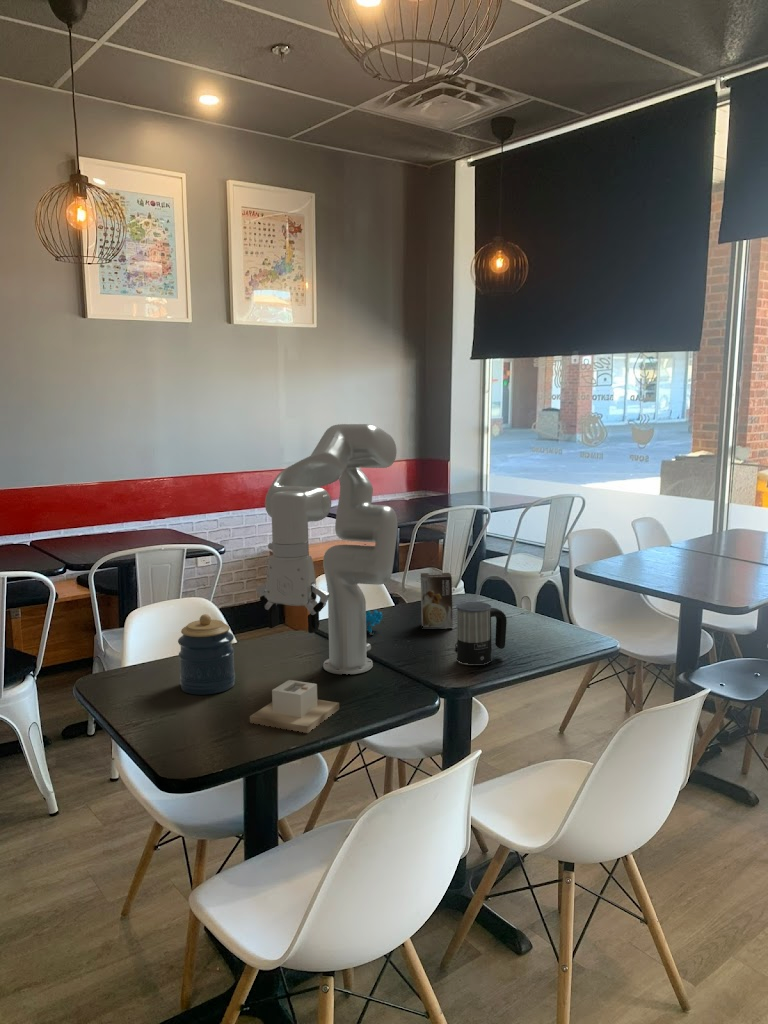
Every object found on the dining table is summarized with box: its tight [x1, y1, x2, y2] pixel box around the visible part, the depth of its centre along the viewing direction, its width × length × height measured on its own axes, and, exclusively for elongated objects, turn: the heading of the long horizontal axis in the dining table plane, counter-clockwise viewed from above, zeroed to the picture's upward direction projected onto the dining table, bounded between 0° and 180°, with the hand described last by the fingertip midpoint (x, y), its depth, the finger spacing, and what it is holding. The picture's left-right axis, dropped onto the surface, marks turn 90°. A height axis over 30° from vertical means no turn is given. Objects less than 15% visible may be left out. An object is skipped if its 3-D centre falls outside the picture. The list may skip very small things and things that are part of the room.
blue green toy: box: [366, 609, 384, 633], centre depth 231 cm, size 11×6×10 cm
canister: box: [177, 613, 236, 696], centre depth 189 cm, size 13×13×18 cm
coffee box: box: [420, 572, 454, 628], centre depth 237 cm, size 9×6×16 cm
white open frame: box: [271, 679, 318, 718], centre depth 171 cm, size 7×7×5 cm
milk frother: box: [455, 601, 508, 664], centre depth 209 cm, size 14×16×15 cm
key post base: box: [249, 686, 340, 734], centre depth 171 cm, size 14×14×6 cm
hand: (293, 628), depth 169 cm, fingers open, 9 cm apart
